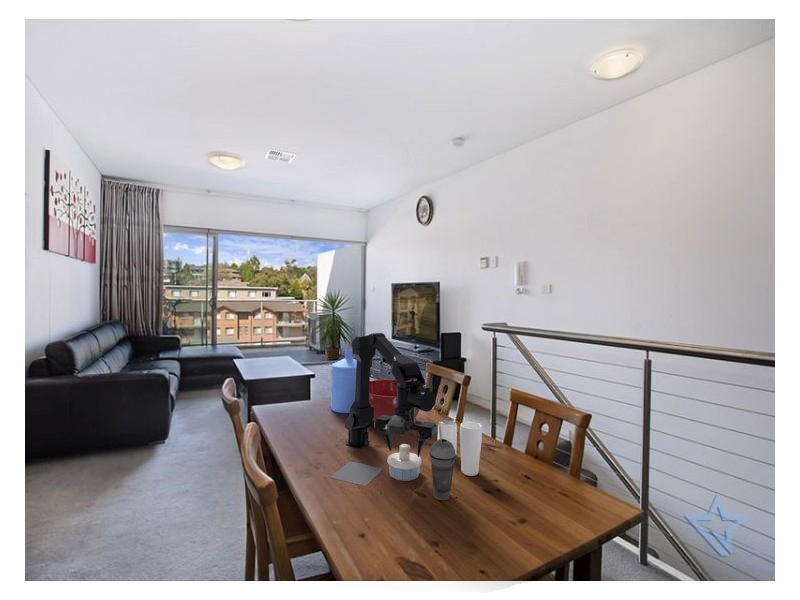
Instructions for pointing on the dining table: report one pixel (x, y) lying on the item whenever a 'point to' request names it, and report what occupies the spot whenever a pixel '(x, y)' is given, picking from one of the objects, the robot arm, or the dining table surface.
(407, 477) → the bowl
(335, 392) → the water jug
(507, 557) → the dining table surface
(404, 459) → the lid
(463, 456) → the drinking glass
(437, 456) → the beverage cup
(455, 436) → the can
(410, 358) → the robot arm
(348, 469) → the mat
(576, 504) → the dining table surface
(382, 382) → the mixing bowl
